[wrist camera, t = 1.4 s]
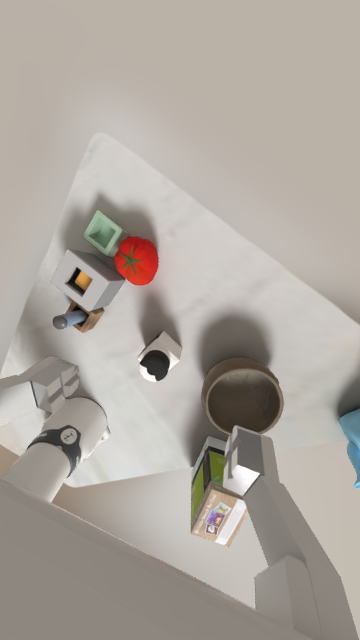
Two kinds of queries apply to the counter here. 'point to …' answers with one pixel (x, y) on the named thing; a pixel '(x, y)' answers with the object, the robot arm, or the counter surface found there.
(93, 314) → the holder
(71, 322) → the grey rod
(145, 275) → the tomato
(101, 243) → the rest socket
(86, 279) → the button
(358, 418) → the teapot
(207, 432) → the counter surface
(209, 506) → the tea box
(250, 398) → the bowl
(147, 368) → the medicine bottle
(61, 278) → the grey hollow block
